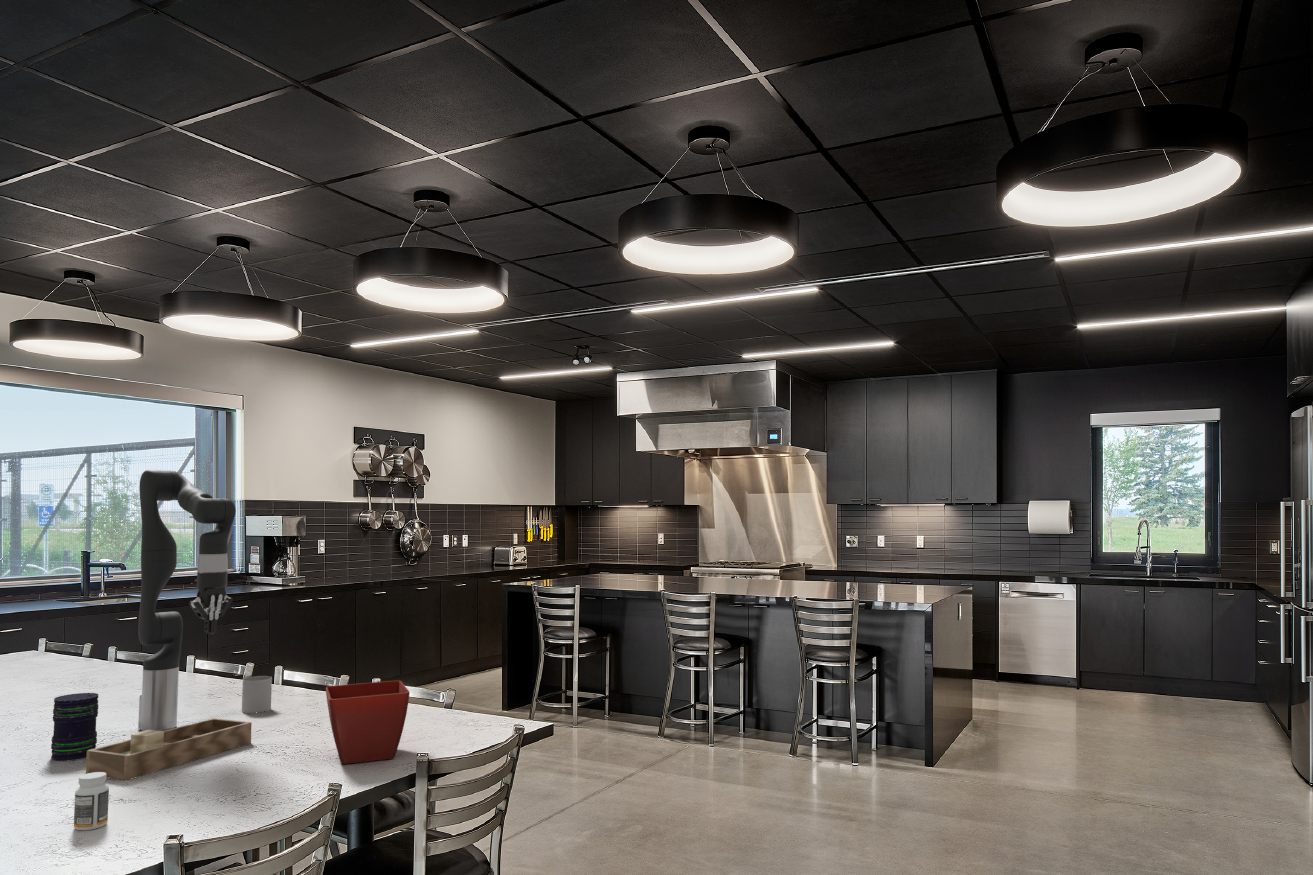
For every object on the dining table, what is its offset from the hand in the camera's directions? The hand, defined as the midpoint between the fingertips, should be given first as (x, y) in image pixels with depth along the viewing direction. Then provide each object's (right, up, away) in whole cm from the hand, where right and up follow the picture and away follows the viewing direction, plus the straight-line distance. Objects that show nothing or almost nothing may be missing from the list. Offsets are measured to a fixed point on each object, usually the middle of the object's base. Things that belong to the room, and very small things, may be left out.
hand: (210, 633), depth 243 cm
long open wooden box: (0, -28, -19) cm, 33 cm away
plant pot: (+49, -27, -18) cm, 59 cm away
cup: (-3, -33, +36) cm, 48 cm away
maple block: (-3, -24, -26) cm, 35 cm away
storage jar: (-27, -28, -16) cm, 42 cm away
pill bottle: (+11, -23, -68) cm, 73 cm away
